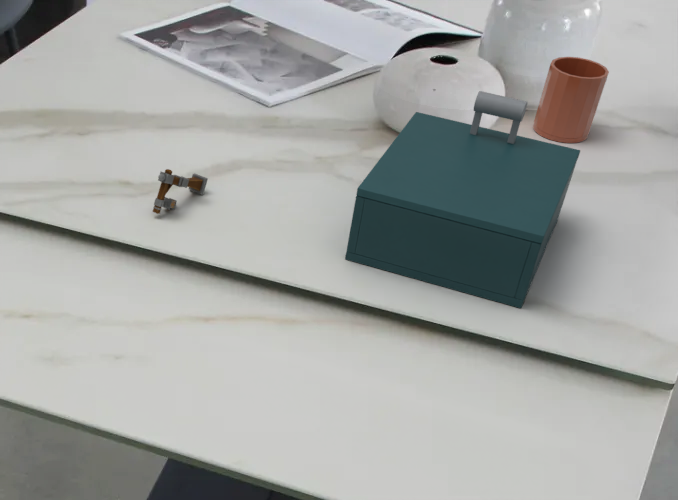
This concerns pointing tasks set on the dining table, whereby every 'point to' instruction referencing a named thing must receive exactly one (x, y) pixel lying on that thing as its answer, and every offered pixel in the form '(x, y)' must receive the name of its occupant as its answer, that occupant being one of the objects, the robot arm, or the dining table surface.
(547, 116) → the cup
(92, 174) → the dining table surface
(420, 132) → the lid
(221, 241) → the dining table surface
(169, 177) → the brown grey bent piece
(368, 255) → the teal box base
